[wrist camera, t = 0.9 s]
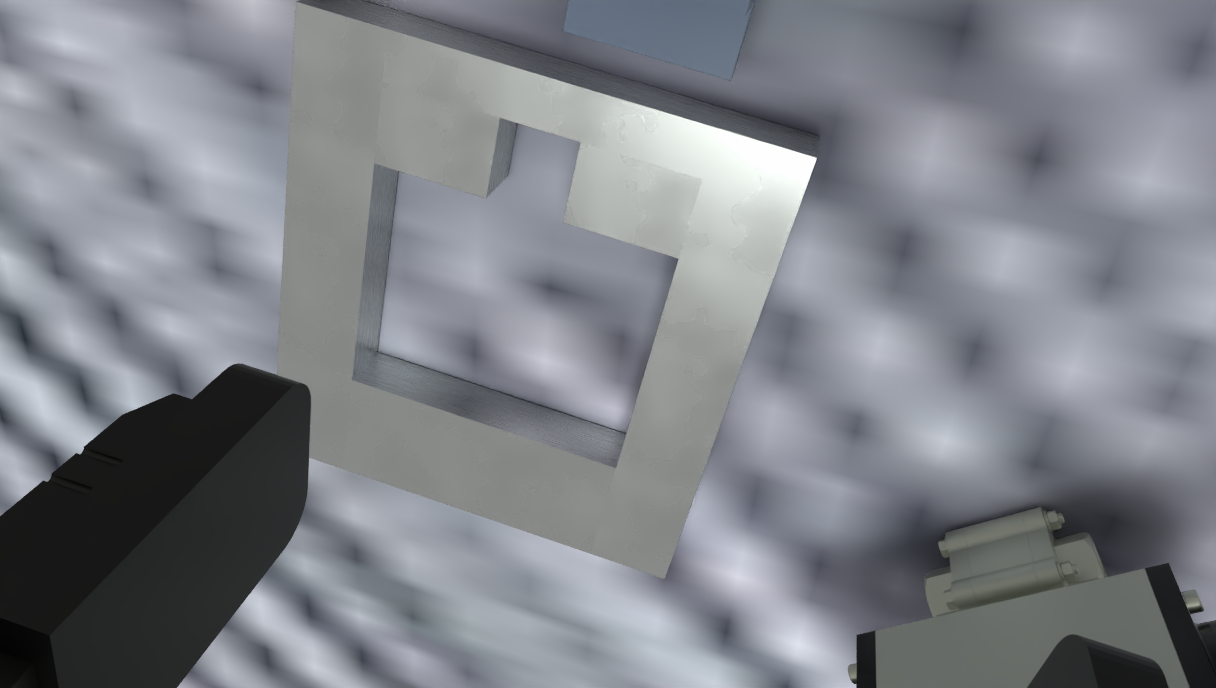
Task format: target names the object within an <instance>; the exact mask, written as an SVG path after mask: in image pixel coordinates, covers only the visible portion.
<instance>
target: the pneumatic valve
mask: <svg viewBox="0 0 1216 688" xmlns="http://www.w3.org/2000/svg"><path fill="white" fill-rule="evenodd" d="M1062 523H1065V520H1064V517H1063V515H1062V513H1058V514H1057V512H1056V510H1052V511H1049V512H1046V511H1043V509H1042V507H1039V508H1035V509H1031V510H1027V511H1024V512H1020V513H1016V514H1012V515H1009V516H1005V517H1001V518H997V519H994V520H990V521H986V522H982V523H979V524H975V525H971V526H968V527H964V528H960V529H956V530H953V531H949V532H945V538H944V539H943V540H939V541H938V545H939V549H940V552H941V554H942V556H943V557H944V558H948V557H949V559H950V566H947V567H943V568H939V569H935V570H932V571H930V572H928V573H927V574H926V575H925V576H924V587H925V593H926V597H927V601H928V604H929V608H930V611H931V613H932V616H933V618H928V619H924V620H920V621H915V622H911V623H907V624H902V625H898V626H894V627H889V628H885V629H881V630H876V631H872V632H868V633H863V634H859V635H857V663H855V664H851V665H849V666H848V673H849V677H850V679H851V681H852V682H853V683H854V684H857V688H1027V687H1028V685H1029V684H1030V682H1031V681H1032V680H1033V678H1034V677H1035V675H1036V674H1037V672H1038V671H1039V669H1040V668H1041V667H1042V665H1043V664H1044V662H1045V661H1046V659H1047V658H1048V656H1049V655H1050V654H1051V652H1052V651H1053V649H1054V648H1055V646H1056V645H1057V644H1058V643H1059V641H1061V640H1062V639H1063V638H1064V637H1066V636H1068V635H1071V634H1075V635H1079V636H1082V637H1085V638H1088V639H1091V640H1095V641H1098V642H1101V643H1104V644H1107V645H1110V646H1113V647H1116V648H1119V649H1123V650H1126V651H1129V652H1132V653H1135V654H1138V655H1141V656H1144V657H1147V658H1150V659H1152V660H1154V661H1155V662H1156V663H1157V664H1158V665H1159V666H1160V667H1161V669H1162V671H1163V673H1164V675H1165V678H1166V681H1167V684H1168V687H1169V688H1216V620H1214V621H1209V622H1204V623H1199V624H1196V623H1194V622H1193V621H1192V618H1191V616H1190V614H1193V613H1198V612H1202V611H1204V609H1203V606H1202V604H1201V601H1200V599H1199V596H1198V594H1197V592H1196V590H1190V591H1185V592H1180V590H1179V587H1178V585H1177V582H1176V580H1175V577H1174V575H1173V573H1172V570H1171V568H1170V565H1169V563H1166V564H1162V565H1157V566H1153V567H1149V568H1145V569H1140V570H1136V571H1132V572H1127V573H1123V574H1119V575H1114V576H1110V577H1107V574H1106V571H1105V569H1104V566H1103V564H1102V561H1101V559H1100V556H1099V554H1098V551H1097V549H1096V547H1095V544H1094V542H1093V540H1092V538H1091V536H1090V534H1088V533H1085V532H1082V533H1078V534H1074V535H1070V536H1066V537H1062V538H1058V539H1055V537H1054V535H1053V533H1052V532H1054V530H1057V529H1061V528H1062ZM1145 570H1146V571H1145ZM1146 572H1147V573H1146ZM1181 593H1182V594H1181ZM1182 595H1183V597H1182ZM1183 598H1184V599H1183ZM1184 600H1185V602H1184ZM1185 603H1186V604H1185ZM1186 605H1187V606H1186ZM1187 607H1188V609H1187ZM1188 610H1189V611H1188ZM1189 612H1190V614H1189Z"/></svg>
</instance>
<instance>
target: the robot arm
mask: <svg viewBox="0 0 1216 688" xmlns="http://www.w3.org/2000/svg"><path fill="white" fill-rule="evenodd" d="M310 420H311V394H310V390H309V388H308V387H307V385H305V384H303V383H300V382H297V381H294V380H291V379H288V378H285V377H281V376H278V375H275V374H272V373H269V372H266V371H263V370H260V369H257V368H253V367H250V366H247V365H244V364H234V365H232V366H230V367H228V368H227V369H226V370H224V371H223V372H222V373H221V374H220V375H219V376H218V377H217V378H215V379H214V380H213V381H212V382H211V383H210V384H209V385H208V386H207V387H205V388H204V389H203V390H202V391H201V392H200V393H199V394H198V395H196V396H195V397H194V398H193V399H189V398H186V397H183V396H180V395H177V394H174V393H173V394H171V395H168V396H166V397H164V398H161V399H159V400H157V401H154V402H152V403H149V404H147V405H145V406H142V407H140V408H138V409H135V410H133V411H130V412H128V413H126V414H123V415H122V416H121V417H119V418H118V419H117V420H116V421H114V422H113V423H112V424H111V425H110V426H108V427H107V428H106V429H105V430H104V431H102V432H101V433H100V434H99V435H98V436H96V437H95V438H94V439H93V440H92V441H90V442H89V443H88V444H87V445H86V446H84V450H83V452H82V453H81V454H77V453H76V454H75V455H74V456H72V457H71V458H70V459H69V460H68V461H66V462H65V463H64V464H63V465H62V466H60V467H59V468H58V469H57V470H56V471H54V472H53V473H52V476H51V479H50V480H49V481H48V482H46V481H42V482H41V483H40V484H39V485H38V486H36V487H35V488H34V489H33V490H31V491H30V492H29V493H28V494H27V495H25V496H24V497H23V498H22V499H21V500H19V501H18V502H17V503H16V504H15V505H13V506H12V507H11V508H10V509H9V510H7V511H6V512H5V513H4V514H3V515H1V516H0V688H177V687H178V685H179V684H180V683H181V682H182V680H183V679H184V678H185V676H186V675H187V674H188V673H189V671H190V670H191V669H192V667H193V666H194V665H195V664H196V662H197V661H198V660H199V658H200V657H201V656H202V655H203V653H204V652H205V651H206V649H207V648H208V647H209V645H210V644H211V643H212V642H213V640H214V639H215V638H216V636H217V635H218V634H219V633H220V631H221V630H222V629H223V627H224V626H225V625H226V624H227V622H228V621H229V620H230V618H231V617H232V616H233V615H234V613H235V612H236V611H237V609H238V608H239V607H240V606H241V604H242V603H243V602H244V600H245V599H246V598H247V596H248V595H249V594H250V593H251V591H252V590H253V589H254V587H255V586H256V585H257V584H258V582H259V581H260V580H261V578H262V577H263V576H264V575H265V573H266V572H267V571H268V569H269V568H270V567H271V566H272V564H273V563H274V562H275V560H276V559H277V558H278V557H279V555H280V554H281V553H282V551H283V550H284V549H285V547H286V546H287V544H288V543H289V541H290V540H291V538H292V536H293V534H294V532H295V530H296V528H297V526H298V524H299V521H300V519H301V516H302V513H303V510H304V506H305V502H306V497H307V489H308V467H309V443H310ZM1027 688H1169V687H1168V684H1167V681H1166V678H1165V675H1164V673H1163V671H1162V669H1161V667H1160V666H1159V665H1158V664H1157V663H1156V662H1155V661H1154V660H1152V659H1150V658H1147V657H1144V656H1141V655H1138V654H1135V653H1132V652H1129V651H1126V650H1123V649H1119V648H1116V647H1113V646H1110V645H1107V644H1104V643H1101V642H1098V641H1095V640H1091V639H1088V638H1085V637H1082V636H1079V635H1075V634H1071V635H1068V636H1066V637H1064V638H1063V639H1062V640H1061V641H1059V643H1058V644H1057V645H1056V646H1055V648H1054V649H1053V651H1052V652H1051V654H1050V655H1049V656H1048V658H1047V659H1046V661H1045V662H1044V664H1043V665H1042V667H1041V668H1040V669H1039V671H1038V672H1037V674H1036V675H1035V677H1034V678H1033V680H1032V681H1031V682H1030V684H1029V685H1028V687H1027Z"/></svg>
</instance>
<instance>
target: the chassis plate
mask: <svg viewBox="0 0 1216 688" xmlns="http://www.w3.org/2000/svg"><path fill="white" fill-rule="evenodd" d="M517 123H519V124H522V125H525V126H528V127H532V128H535V129H538V130H542V131H545V132H548V133H551V134H555V135H558V136H561V137H565V138H568V139H571V140H574V141H578V142H581V143H580V148H579V152H578V157H577V161H576V166H575V170H574V175H573V179H572V184H571V188H570V193H569V197H568V202H567V206H566V211H565V215H564V220H563V223H566V224H570V225H573V226H576V227H579V228H582V229H586V230H589V231H592V232H595V233H598V234H602V235H605V236H608V237H611V238H614V239H618V240H621V241H624V242H627V243H630V244H634V245H637V246H640V247H643V248H646V249H650V250H653V251H656V252H659V253H662V254H666V255H669V256H672V257H675V258H678V259H679V260H678V263H677V266H676V270H675V273H674V276H673V280H672V283H671V286H670V290H669V293H668V296H667V300H666V303H665V306H664V310H663V313H662V316H661V320H660V323H659V326H658V330H657V333H656V336H655V340H654V343H653V347H652V350H651V353H650V357H649V360H648V363H647V367H646V370H645V373H644V377H643V380H642V383H641V387H640V390H639V393H638V397H637V400H636V403H635V407H634V410H633V413H632V417H631V420H630V424H629V427H628V430H627V434H624V433H621V432H618V431H615V430H612V429H609V428H606V427H603V426H600V425H597V424H594V423H591V422H588V421H585V420H582V419H579V418H576V417H573V416H570V415H567V414H564V413H561V412H558V411H555V410H552V409H549V408H546V407H543V406H540V405H536V404H533V403H530V402H527V401H524V400H521V399H518V398H515V397H512V396H509V395H506V394H503V393H500V392H497V391H494V390H491V389H488V388H485V387H482V386H479V385H476V384H473V383H470V382H467V381H464V380H461V379H458V378H455V377H452V376H449V375H446V374H443V373H440V372H436V371H433V370H430V369H427V368H424V367H421V366H418V365H415V364H412V363H409V362H406V361H403V360H400V359H397V358H394V357H391V356H388V355H385V354H382V353H379V352H377V350H378V342H379V333H380V325H381V316H382V308H383V299H384V291H385V282H386V273H387V265H388V256H389V248H390V239H391V231H392V222H393V214H394V205H395V197H396V188H397V180H398V171H400V172H403V173H407V174H410V175H413V176H416V177H419V178H423V179H426V180H429V181H432V182H435V183H439V184H442V185H445V186H448V187H451V188H455V189H458V190H461V191H464V192H467V193H471V194H474V195H477V196H480V197H483V198H487V197H488V196H489V195H490V194H491V193H492V192H493V191H494V190H495V189H496V188H497V187H498V186H499V185H500V184H501V183H502V181H503V180H504V179H505V178H506V177H507V176H508V171H509V165H510V160H511V154H512V149H513V143H514V138H515V132H516V127H517ZM819 137H820V136H817V135H813V134H810V133H806V132H803V131H800V130H796V129H793V128H790V127H786V126H783V125H780V124H776V123H773V122H770V121H766V120H763V119H759V118H756V117H753V116H749V115H746V114H743V113H739V112H736V111H733V110H729V109H726V108H723V107H719V106H716V105H713V104H709V103H706V102H702V101H699V100H696V99H692V98H689V97H686V96H682V95H679V94H676V93H672V92H669V91H666V90H662V89H659V88H655V87H652V86H649V85H645V84H642V83H639V82H635V81H632V80H629V79H625V78H622V77H619V76H615V75H612V74H609V73H605V72H602V71H598V70H595V69H592V68H588V67H585V66H582V65H578V64H575V63H572V62H568V61H565V60H562V59H558V58H555V57H551V56H548V55H545V54H541V53H538V52H535V51H531V50H528V49H525V48H521V47H518V46H515V45H511V44H508V43H505V42H501V41H498V40H494V39H491V38H488V37H484V36H481V35H478V34H474V33H471V32H468V31H464V30H461V29H458V28H454V27H451V26H447V25H444V24H441V23H437V22H434V21H431V20H427V19H424V18H421V17H417V16H414V15H411V14H407V13H404V12H401V11H397V10H394V9H390V8H387V7H384V6H380V5H377V4H374V3H370V2H367V1H364V0H300V1H297V2H296V11H295V31H294V50H293V70H292V89H291V108H290V128H289V147H288V167H287V186H286V206H285V225H284V245H283V264H282V284H281V303H280V323H279V342H278V362H277V375H278V376H281V377H285V378H288V379H291V380H294V381H297V382H300V383H303V384H305V385H307V387H308V388H309V390H310V394H311V420H310V443H309V458H312V459H315V460H318V461H321V462H324V463H327V464H330V465H333V466H336V467H339V468H342V469H345V470H347V471H350V472H353V473H356V474H359V475H362V476H365V477H368V478H371V479H374V480H377V481H380V482H383V483H385V484H388V485H391V486H394V487H397V488H400V489H403V490H406V491H409V492H412V493H415V494H418V495H421V496H424V497H426V498H429V499H432V500H435V501H438V502H441V503H444V504H447V505H450V506H453V507H456V508H459V509H462V510H464V511H467V512H470V513H473V514H476V515H479V516H482V517H485V518H488V519H491V520H494V521H497V522H500V523H502V524H505V525H508V526H511V527H514V528H517V529H520V530H523V531H526V532H529V533H532V534H535V535H538V536H541V537H543V538H546V539H549V540H552V541H555V542H558V543H561V544H564V545H567V546H570V547H573V548H576V549H579V550H581V551H584V552H587V553H590V554H593V555H596V556H599V557H602V558H605V559H608V560H611V561H614V562H617V563H620V564H622V565H625V566H628V567H631V568H634V569H637V570H640V571H643V572H646V573H649V574H652V575H655V576H658V577H660V578H663V579H665V576H666V573H667V571H668V568H669V565H670V562H671V559H672V557H673V554H674V551H675V548H676V546H677V543H678V540H679V537H680V535H681V532H682V529H683V526H684V524H685V521H686V518H687V515H688V513H689V510H690V507H691V504H692V502H693V499H694V496H695V493H696V490H697V488H698V485H699V482H700V479H701V477H702V474H703V471H704V468H705V466H706V463H707V460H708V457H709V455H710V452H711V449H712V446H713V444H714V441H715V438H716V435H717V433H718V430H719V427H720V424H721V421H722V419H723V416H724V413H725V410H726V408H727V405H728V402H729V399H730V397H731V394H732V391H733V388H734V386H735V383H736V380H737V377H738V375H739V372H740V369H741V366H742V364H743V361H744V358H745V355H746V352H747V350H748V347H749V344H750V341H751V339H752V336H753V333H754V330H755V328H756V325H757V322H758V319H759V317H760V314H761V311H762V308H763V306H764V303H765V300H766V297H767V295H768V292H769V289H770V286H771V284H772V281H773V278H774V275H775V272H776V270H777V267H778V264H779V261H780V259H781V256H782V253H783V250H784V248H785V245H786V242H787V239H788V237H789V234H790V231H791V228H792V226H793V223H794V220H795V217H796V215H797V212H798V209H799V206H800V203H801V201H802V198H803V195H804V192H805V190H806V187H807V184H808V181H809V179H810V176H811V173H812V170H813V168H814V165H815V162H816V159H817V154H818V146H819Z"/></svg>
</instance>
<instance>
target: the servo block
mask: <svg viewBox="0 0 1216 688" xmlns="http://www.w3.org/2000/svg"><path fill="white" fill-rule="evenodd" d="M755 1H756V0H569V3H568V8H567V13H566V18H565V23H564V28H563V31H564V32H568V33H571V34H574V35H578V36H581V37H584V38H588V39H591V40H595V41H598V42H601V43H605V44H608V45H611V46H615V47H618V48H622V49H625V50H628V51H632V52H635V53H638V54H642V55H645V56H649V57H652V58H655V59H659V60H662V61H665V62H669V63H672V64H676V65H679V66H682V67H686V68H689V69H692V70H696V71H699V72H703V73H706V74H709V75H713V76H716V77H719V78H723V79H726V80H730V81H731V79H732V77H733V74H734V71H735V68H736V64H737V61H738V58H739V54H740V51H741V48H742V44H743V41H744V38H745V34H746V31H747V28H748V24H749V21H750V18H751V14H752V11H753V7H754V4H755Z"/></svg>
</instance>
